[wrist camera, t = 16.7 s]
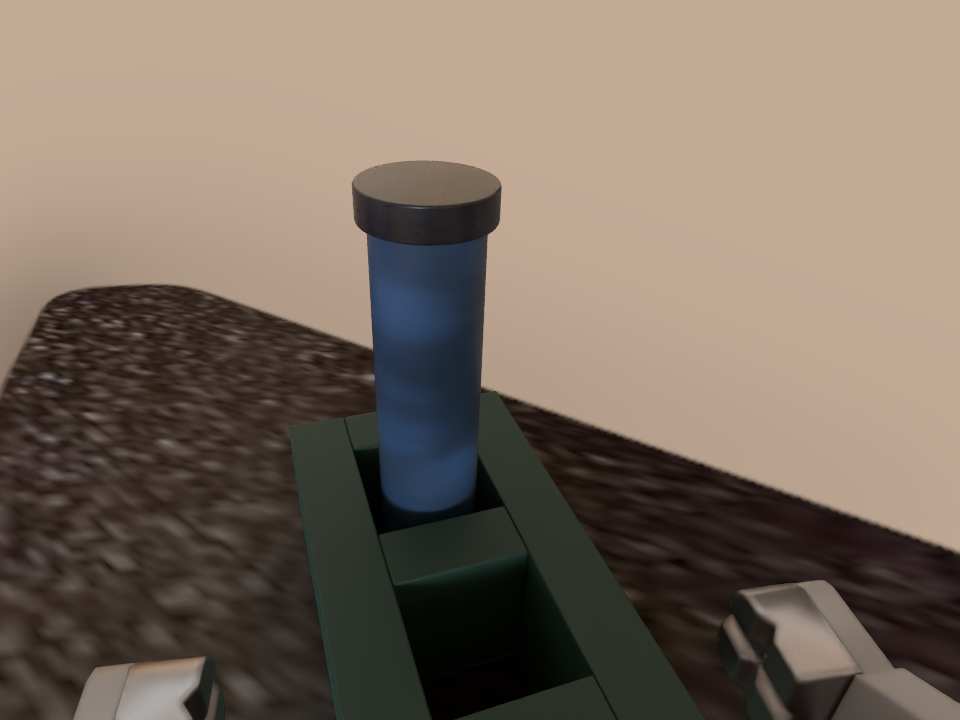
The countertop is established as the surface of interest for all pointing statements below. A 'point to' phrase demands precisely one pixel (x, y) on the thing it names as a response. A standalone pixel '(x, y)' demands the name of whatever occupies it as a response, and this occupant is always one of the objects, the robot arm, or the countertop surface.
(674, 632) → the countertop surface
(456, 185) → the handle
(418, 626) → the holder
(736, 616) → the robot arm
